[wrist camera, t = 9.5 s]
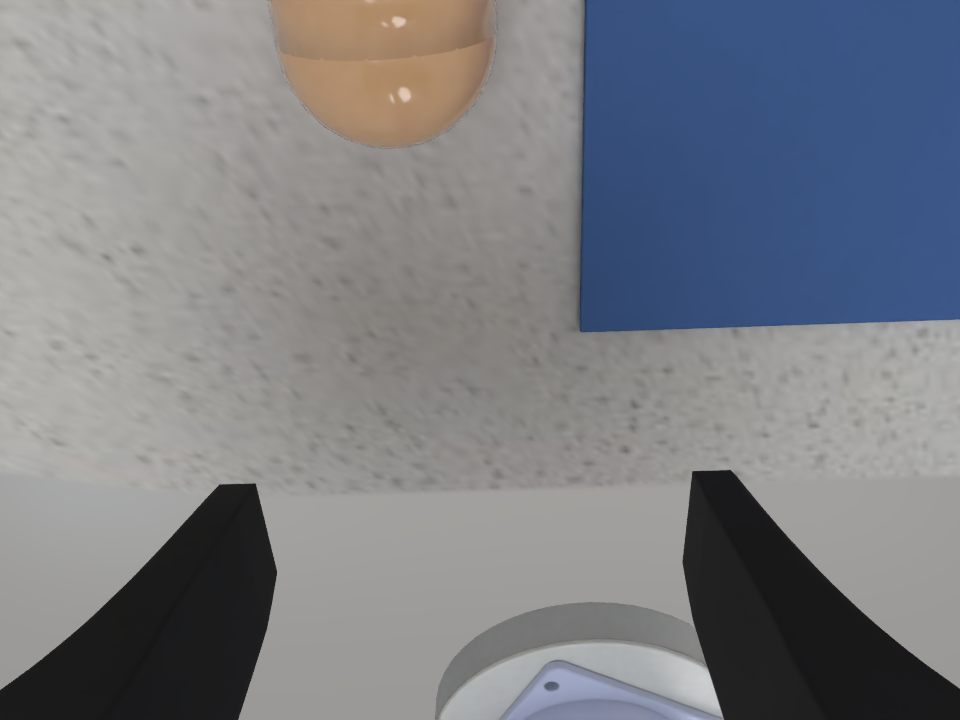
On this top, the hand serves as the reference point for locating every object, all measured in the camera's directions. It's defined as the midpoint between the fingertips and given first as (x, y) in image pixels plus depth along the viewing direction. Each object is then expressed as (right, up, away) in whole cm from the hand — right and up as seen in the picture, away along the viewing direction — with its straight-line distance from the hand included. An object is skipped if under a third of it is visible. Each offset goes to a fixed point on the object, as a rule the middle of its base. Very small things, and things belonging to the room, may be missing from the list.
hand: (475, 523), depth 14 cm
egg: (-3, +11, +4) cm, 12 cm away
